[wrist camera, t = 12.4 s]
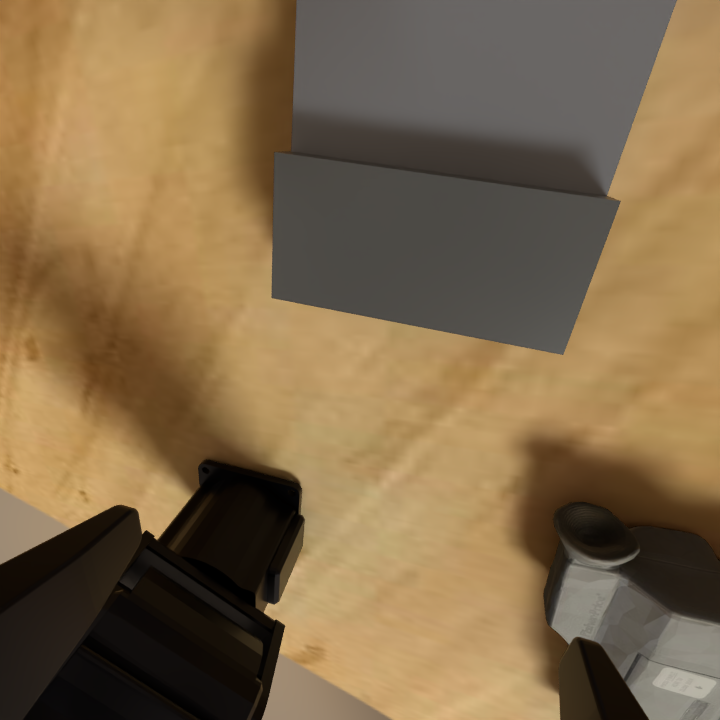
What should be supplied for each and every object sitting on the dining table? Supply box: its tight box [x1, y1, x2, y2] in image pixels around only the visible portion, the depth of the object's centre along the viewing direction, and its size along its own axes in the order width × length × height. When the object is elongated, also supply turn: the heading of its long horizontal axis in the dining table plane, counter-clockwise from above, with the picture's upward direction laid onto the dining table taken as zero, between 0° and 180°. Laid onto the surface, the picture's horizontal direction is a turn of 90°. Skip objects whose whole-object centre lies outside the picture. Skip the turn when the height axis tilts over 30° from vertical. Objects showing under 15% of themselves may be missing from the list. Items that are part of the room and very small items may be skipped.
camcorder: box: [544, 502, 720, 720], centre depth 22 cm, size 16×20×5 cm
